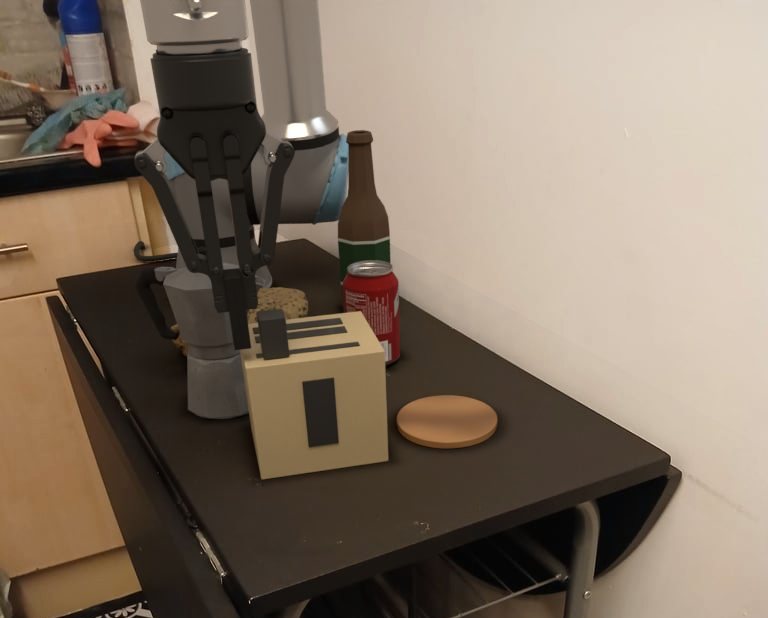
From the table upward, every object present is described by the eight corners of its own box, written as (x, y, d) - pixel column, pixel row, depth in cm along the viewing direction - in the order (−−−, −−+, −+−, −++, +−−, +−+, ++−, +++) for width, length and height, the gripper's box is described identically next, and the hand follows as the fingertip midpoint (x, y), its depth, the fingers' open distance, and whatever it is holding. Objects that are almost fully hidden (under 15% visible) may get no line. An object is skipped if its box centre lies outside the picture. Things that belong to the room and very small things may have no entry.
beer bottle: (332, 316, 115) (319, 136, 101) (353, 298, 121) (344, 126, 107) (381, 322, 112) (375, 138, 99) (401, 303, 118) (397, 127, 105)
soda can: (394, 372, 98) (392, 277, 91) (342, 370, 99) (335, 275, 93) (404, 351, 104) (402, 259, 97) (354, 348, 105) (349, 257, 98)
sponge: (206, 389, 99) (340, 323, 104) (179, 331, 95) (320, 266, 101) (179, 370, 110) (302, 311, 115) (153, 317, 106) (282, 259, 111)
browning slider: (261, 350, 75) (256, 311, 73) (286, 347, 75) (282, 308, 73) (263, 359, 73) (258, 320, 71) (289, 356, 73) (285, 317, 71)
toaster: (251, 428, 87) (236, 324, 80) (366, 413, 90) (360, 309, 83) (261, 480, 78) (245, 367, 71) (389, 461, 81) (385, 350, 74)
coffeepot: (293, 389, 95) (277, 237, 85) (263, 426, 88) (241, 264, 77) (178, 378, 99) (149, 231, 89) (139, 413, 91) (103, 256, 81)
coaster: (386, 408, 90) (386, 402, 90) (478, 395, 92) (478, 389, 92) (411, 455, 81) (410, 448, 81) (511, 440, 83) (512, 433, 83)
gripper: (107, 56, 55) (170, 368, 69) (292, 46, 57) (318, 350, 71) (113, 48, 61) (169, 336, 75) (280, 39, 63) (306, 321, 77)
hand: (241, 343), depth 73 cm, fingers closed
